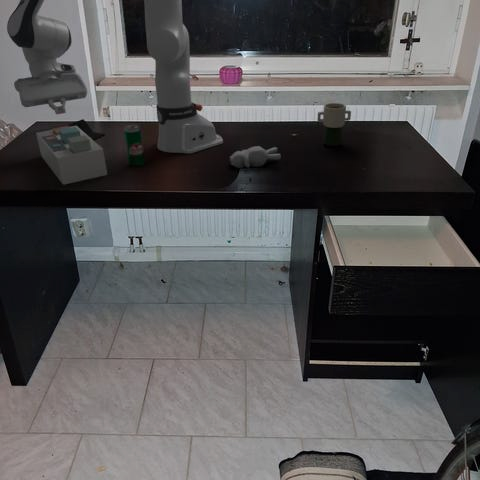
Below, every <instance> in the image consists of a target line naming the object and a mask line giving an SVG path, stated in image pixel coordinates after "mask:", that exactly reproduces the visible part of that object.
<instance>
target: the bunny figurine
mask: <svg viewBox="0 0 480 480" xmlns="http://www.w3.org/2000/svg"><path fill="white" fill-rule="evenodd" d="M277 152H278V147H275V146H274V147H271V148H269V149H265V148H263V147H261V146H260V145H257V146H256V145H255V146H251V147H249V148H248V149H242V150H241V151H240V150H236V151H235V152H233V154H232V155H231V156H229V160H230V164H231V167H232V166H233V167H235V168H238V169H241V168H245V167H246V168H250V167H252V168H253V167H255V168H258V167H263V166H264V165H265V163H266V162H267V160H274V161H275V160H276V161H277V160H281V158H282V156H281V153H277Z"/></svg>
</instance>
